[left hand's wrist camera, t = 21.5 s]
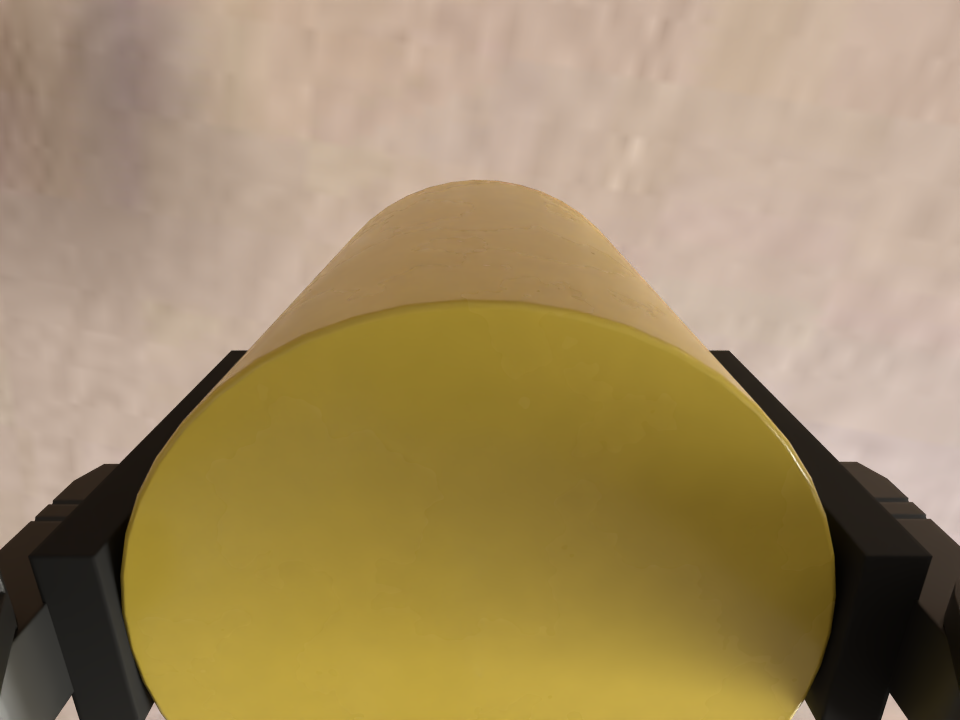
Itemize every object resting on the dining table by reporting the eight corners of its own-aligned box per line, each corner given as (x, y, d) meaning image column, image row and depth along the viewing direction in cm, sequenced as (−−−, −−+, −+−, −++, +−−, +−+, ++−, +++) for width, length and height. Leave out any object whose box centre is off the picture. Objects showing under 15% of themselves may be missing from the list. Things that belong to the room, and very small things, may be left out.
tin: (360, 500, 20) (241, 894, 10) (280, 210, 16) (-11, 372, 7) (650, 459, 19) (826, 834, 9) (626, 151, 16) (858, 235, 6)
